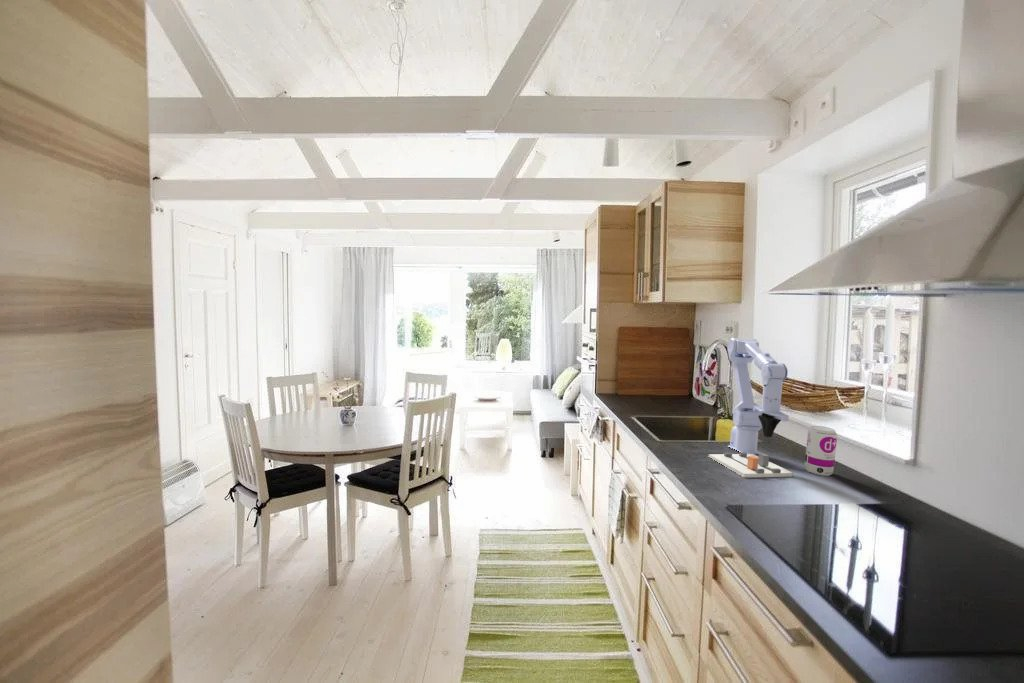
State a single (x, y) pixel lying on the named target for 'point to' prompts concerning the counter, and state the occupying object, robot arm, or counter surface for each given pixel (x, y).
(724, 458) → the panel
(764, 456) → the grey rectangular box
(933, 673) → the counter surface
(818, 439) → the supplement can
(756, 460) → the fader orange
